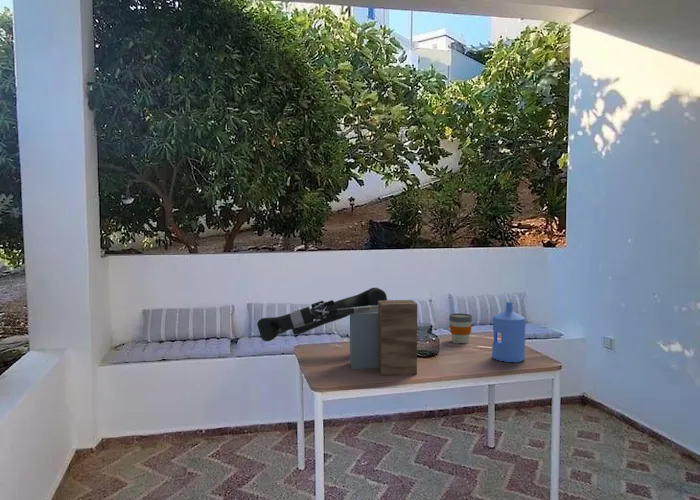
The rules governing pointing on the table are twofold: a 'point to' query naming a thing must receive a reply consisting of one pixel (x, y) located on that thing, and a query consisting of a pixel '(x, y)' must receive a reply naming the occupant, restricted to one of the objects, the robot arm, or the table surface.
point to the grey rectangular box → (364, 340)
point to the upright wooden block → (397, 337)
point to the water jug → (509, 336)
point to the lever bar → (357, 310)
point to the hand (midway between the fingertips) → (335, 306)
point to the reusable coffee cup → (460, 327)
